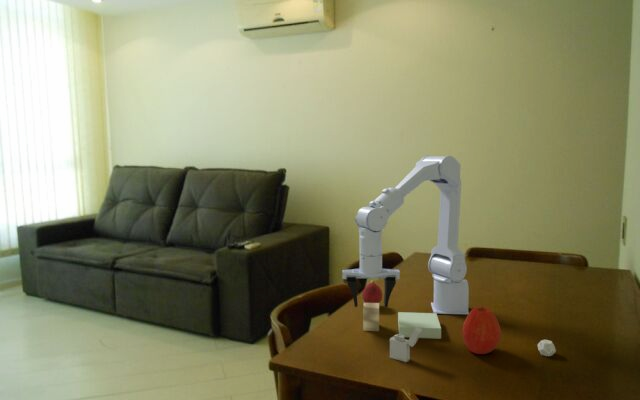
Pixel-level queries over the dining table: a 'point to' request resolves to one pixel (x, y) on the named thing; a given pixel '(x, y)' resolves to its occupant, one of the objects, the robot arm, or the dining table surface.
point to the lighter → (403, 345)
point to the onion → (372, 293)
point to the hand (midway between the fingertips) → (370, 305)
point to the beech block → (371, 317)
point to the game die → (546, 347)
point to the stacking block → (419, 324)
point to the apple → (481, 330)
